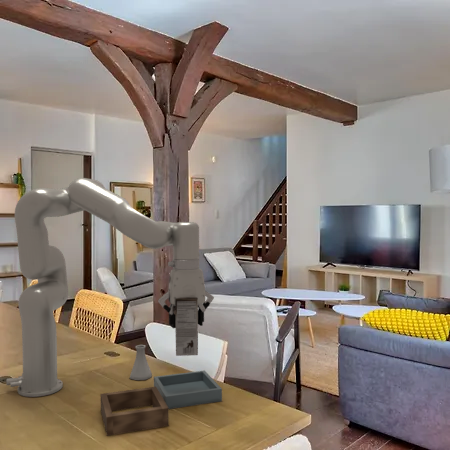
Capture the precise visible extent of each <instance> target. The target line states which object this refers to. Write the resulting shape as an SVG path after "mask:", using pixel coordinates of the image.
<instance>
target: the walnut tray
mask: <svg viewBox="0 0 450 450" xmlns="http://www.w3.org/2000/svg"><path fill="white" fill-rule="evenodd" d="M151 406H152V407H151ZM143 407H147V408H143ZM136 408H141V409H136ZM128 409H134V410H129V411H122V410H128ZM135 409H136V410H135ZM169 410H170V409H168V406H167V404H166V403H165V401H164V399H163V398H162V396H161V394H160V392H159V391H158V389H157V387H154V386H151V387H150V386H149V387H142V388H135V389H134V388H133V389H127V390H119V391H112V392H105V393H100V414H101V417H102V421H103V426H104V430H105V434H106V436H107V437H108V436H114V435H115V436H116V435H120V434H126V433H132V432H137V431H138V432H140V431H145V430H150V429H156V428H164V427H168V426H170V425H169V422H170V421H169V419H170V418H169V412H170V411H169ZM115 411H116V412H115ZM117 411H120V412H117Z"/></svg>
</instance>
